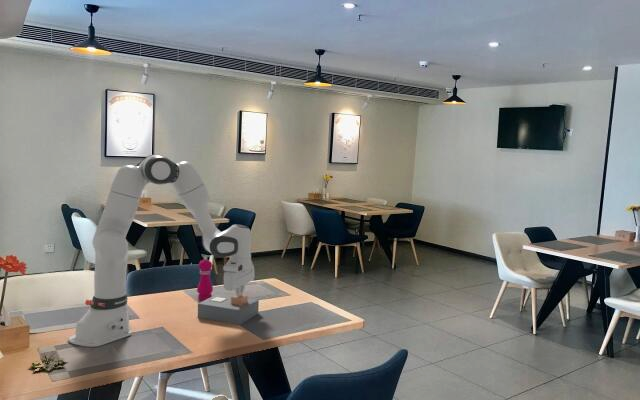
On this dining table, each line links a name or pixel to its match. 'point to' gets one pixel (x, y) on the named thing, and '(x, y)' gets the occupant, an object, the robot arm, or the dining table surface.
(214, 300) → the cream plunger
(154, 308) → the dining table surface
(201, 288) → the pepper mill
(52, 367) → the green leafy plant
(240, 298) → the tan cube
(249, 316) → the button console
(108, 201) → the robot arm
